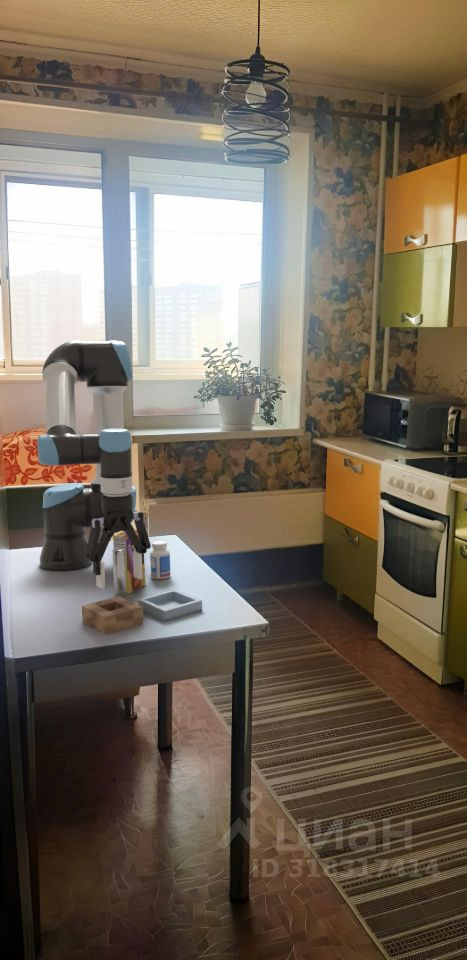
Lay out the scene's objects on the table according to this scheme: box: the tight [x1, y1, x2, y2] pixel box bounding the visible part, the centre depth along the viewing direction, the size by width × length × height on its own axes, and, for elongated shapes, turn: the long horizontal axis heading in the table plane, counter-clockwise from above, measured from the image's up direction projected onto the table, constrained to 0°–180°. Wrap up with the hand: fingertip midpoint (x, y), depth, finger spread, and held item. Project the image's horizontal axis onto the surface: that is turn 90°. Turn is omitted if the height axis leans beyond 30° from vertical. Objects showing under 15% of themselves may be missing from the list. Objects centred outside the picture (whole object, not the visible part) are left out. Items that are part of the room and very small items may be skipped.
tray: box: [137, 589, 203, 622], centre depth 178 cm, size 11×11×2 cm
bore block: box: [81, 596, 144, 635], centre depth 169 cm, size 10×10×4 cm
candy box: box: [112, 528, 146, 595], centre depth 193 cm, size 9×4×15 cm, turn 157°
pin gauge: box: [112, 548, 128, 600], centre depth 180 cm, size 3×3×14 cm
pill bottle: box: [149, 540, 171, 580], centre depth 203 cm, size 6×5×10 cm
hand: (119, 582), depth 180 cm, fingers open, 10 cm apart
